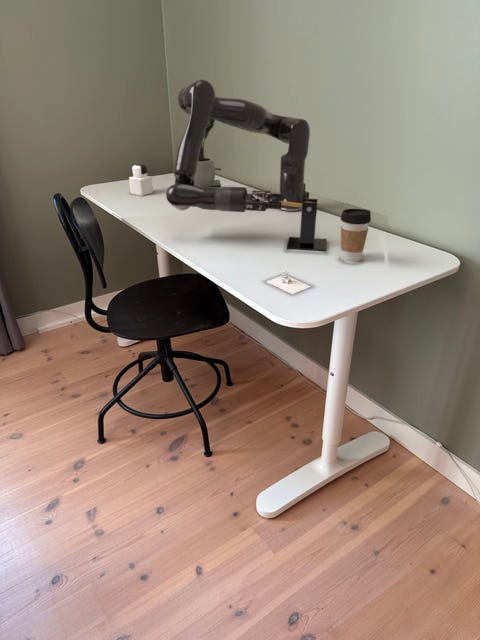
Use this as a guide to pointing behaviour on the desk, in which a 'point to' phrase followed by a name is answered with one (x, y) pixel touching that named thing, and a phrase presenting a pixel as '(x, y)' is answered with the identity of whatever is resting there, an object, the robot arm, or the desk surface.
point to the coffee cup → (354, 233)
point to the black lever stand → (307, 229)
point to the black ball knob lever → (286, 202)
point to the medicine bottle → (140, 181)
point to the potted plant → (206, 165)
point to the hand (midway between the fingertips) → (282, 201)
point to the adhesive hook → (288, 283)
